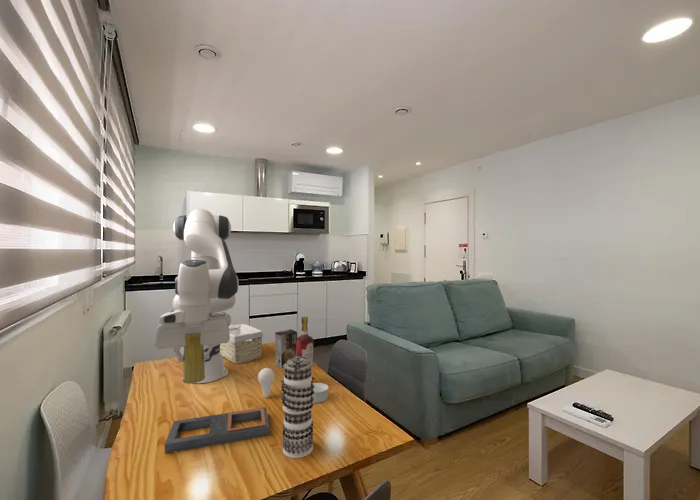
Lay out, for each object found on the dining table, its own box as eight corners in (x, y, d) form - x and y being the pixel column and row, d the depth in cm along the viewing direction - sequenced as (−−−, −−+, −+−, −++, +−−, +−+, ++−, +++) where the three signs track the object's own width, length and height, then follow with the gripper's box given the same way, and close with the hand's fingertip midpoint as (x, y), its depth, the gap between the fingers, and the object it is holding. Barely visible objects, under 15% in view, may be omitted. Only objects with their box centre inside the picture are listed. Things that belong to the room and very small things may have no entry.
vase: (184, 385, 93) (184, 336, 93) (180, 378, 98) (180, 331, 98) (207, 380, 97) (207, 333, 97) (202, 373, 102) (202, 328, 101)
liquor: (305, 379, 140) (305, 314, 140) (317, 384, 135) (317, 317, 136) (292, 385, 135) (292, 317, 135) (303, 389, 130) (303, 319, 130)
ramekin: (300, 398, 123) (300, 386, 123) (319, 391, 129) (319, 380, 129) (313, 406, 116) (313, 394, 116) (333, 399, 122) (333, 387, 122)
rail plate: (173, 429, 101) (173, 420, 101) (266, 414, 110) (266, 406, 110) (164, 453, 89) (164, 443, 89) (269, 435, 98) (269, 425, 98)
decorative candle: (283, 439, 95) (283, 354, 95) (315, 438, 96) (314, 353, 96) (278, 459, 86) (278, 365, 86) (313, 458, 87) (313, 364, 87)
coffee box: (291, 360, 165) (291, 329, 165) (297, 364, 160) (297, 331, 160) (274, 364, 159) (274, 331, 159) (281, 368, 154) (281, 334, 154)
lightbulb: (270, 401, 120) (270, 371, 120) (255, 400, 121) (255, 370, 121) (277, 394, 126) (277, 366, 126) (262, 393, 127) (262, 365, 127)
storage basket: (264, 358, 168) (264, 330, 169) (233, 366, 157) (233, 335, 157) (243, 348, 186) (243, 323, 186) (215, 355, 175) (215, 327, 175)
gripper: (231, 310, 104) (231, 353, 104) (158, 314, 97) (158, 360, 97) (230, 313, 98) (230, 359, 98) (153, 318, 91) (153, 367, 91)
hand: (194, 360), depth 97 cm, fingers closed on vase, 5 cm apart
